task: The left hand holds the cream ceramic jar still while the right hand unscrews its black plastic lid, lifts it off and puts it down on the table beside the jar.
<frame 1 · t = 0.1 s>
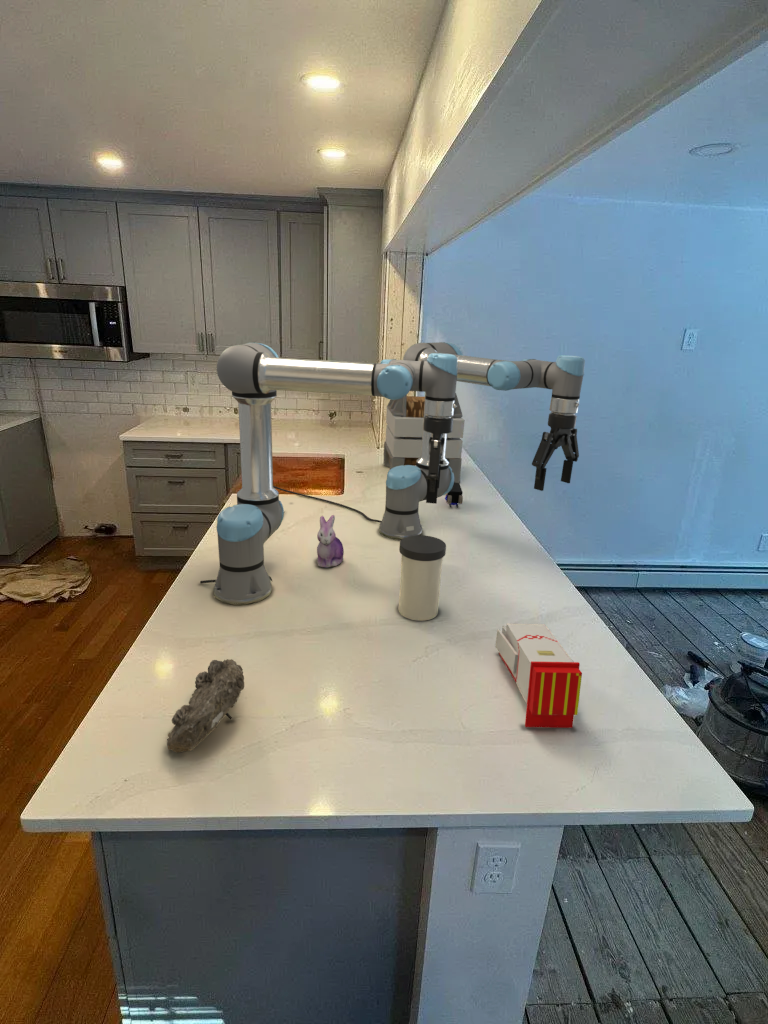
left hand: (432, 495, 153), 28 cm above the counter, tool pointing down, fingers open, 13 cm apart
right hand: (552, 485, 166), 28 cm above the counter, tool pointing down, fingers open, 13 cm apart
feather: (283, 515, 213), on the counter
figurine character: (452, 503, 233), on the counter
fossil: (212, 717, 108), on the counter
lid: (422, 545, 143), point 19 cm above the counter, screwed on, not yet turned
toy: (529, 684, 122), on the counter
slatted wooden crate: (419, 473, 275), on the counter
figurine: (329, 562, 175), on the counter
jar: (418, 610, 150), on the counter
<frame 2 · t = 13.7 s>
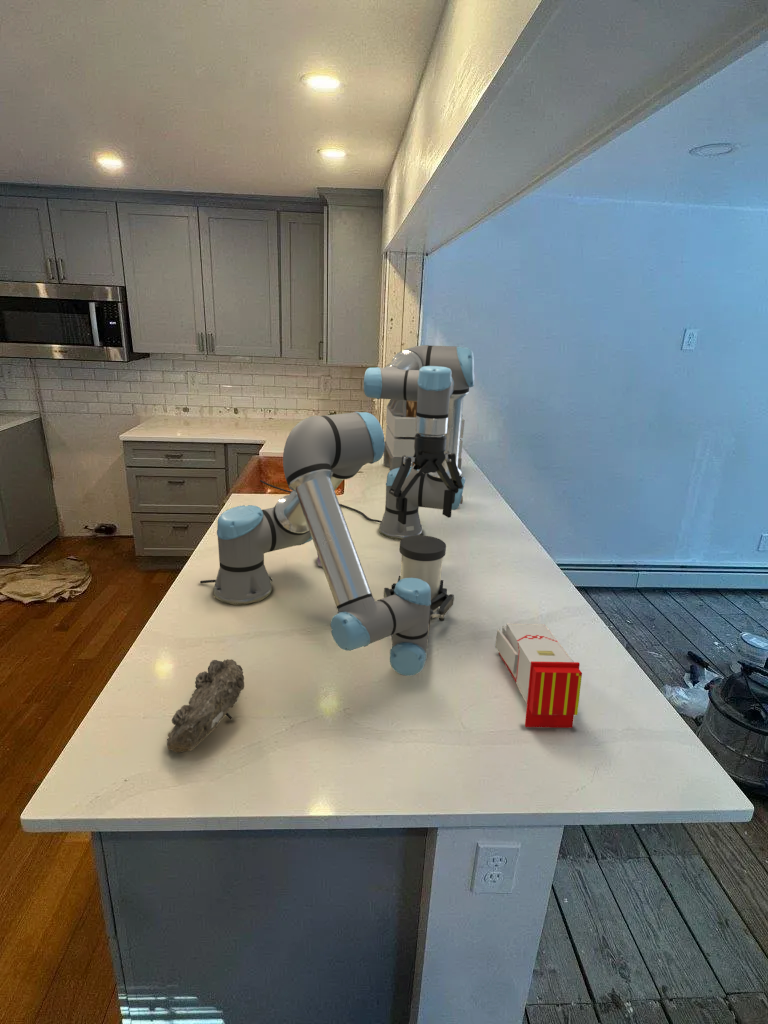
left hand: (420, 582, 151), 6 cm above the counter, tool horizontal, fingers closed on jar, 10 cm apart
right hand: (424, 519, 141), 26 cm above the counter, tool pointing down, fingers open, 12 cm apart
jar: (418, 610, 150), on the counter, touching left hand
everything else where it was.
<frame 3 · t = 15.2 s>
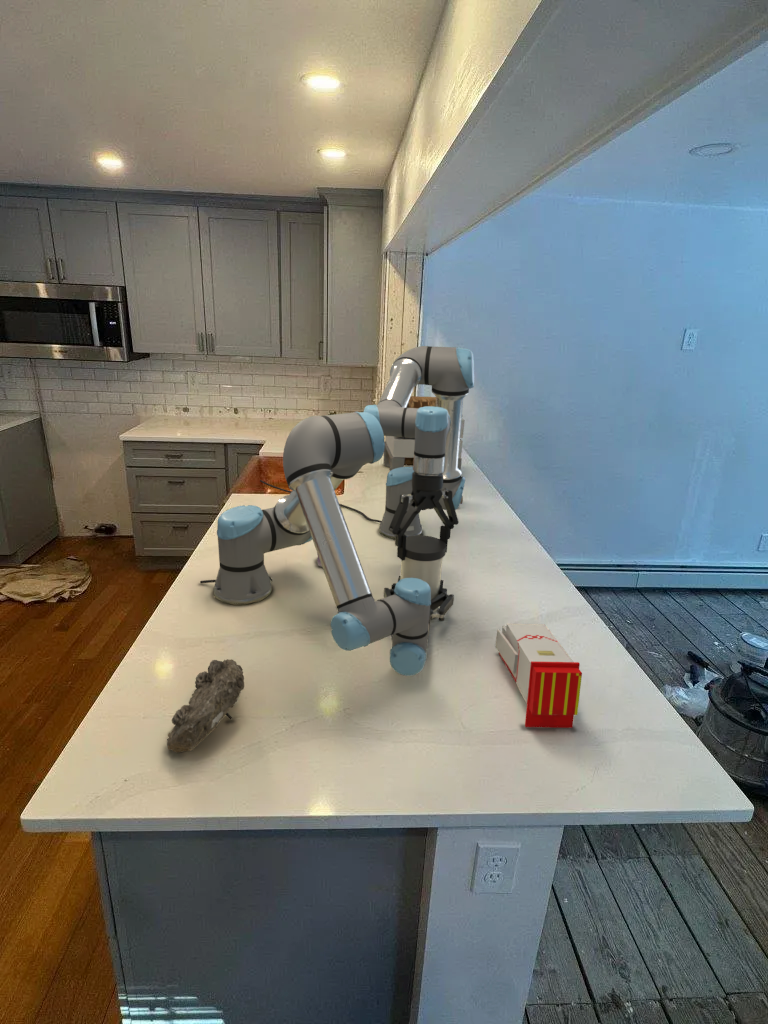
left hand: (420, 582, 151), 6 cm above the counter, tool horizontal, fingers closed on jar, 10 cm apart
right hand: (422, 554, 144), 16 cm above the counter, tool pointing down, fingers closed on lid, 12 cm apart
lid: (422, 545, 143), point 19 cm above the counter, screwed on, not yet turned, touching right hand
jar: (418, 610, 150), on the counter, touching left hand
everything else where it was.
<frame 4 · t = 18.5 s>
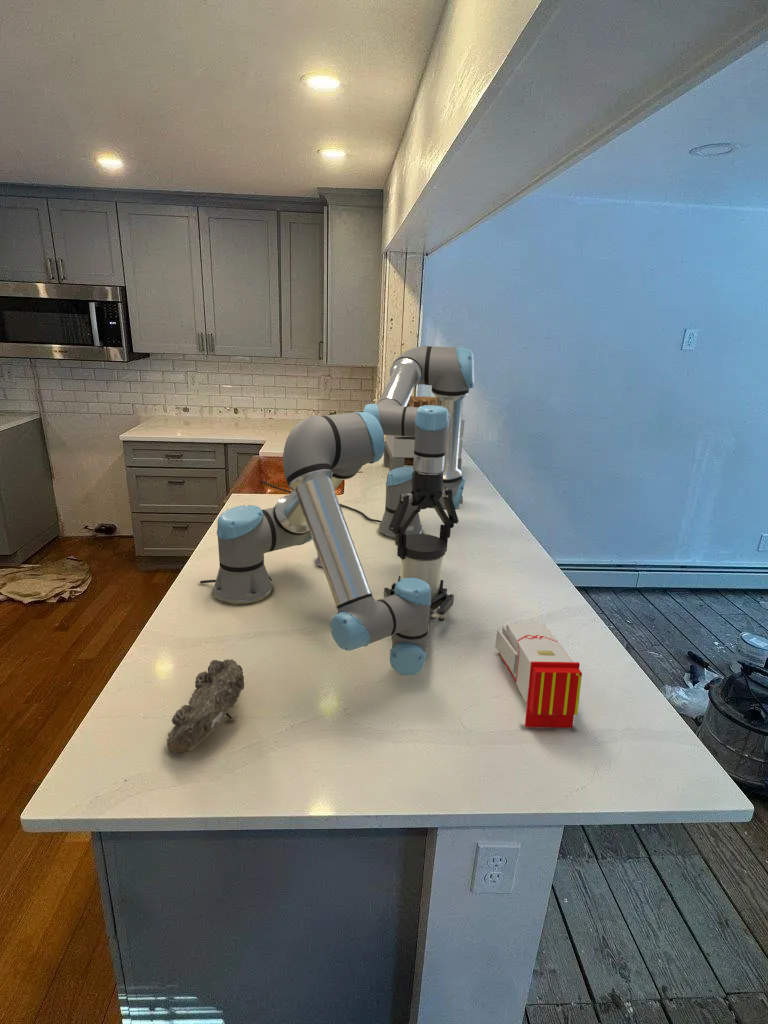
left hand: (420, 582, 151), 6 cm above the counter, tool horizontal, fingers closed on jar, 10 cm apart
right hand: (422, 553, 144), 16 cm above the counter, tool pointing down, fingers closed on lid, 12 cm apart
lid: (422, 543, 143), point 19 cm above the counter, turned 106° so far, risen 0.4 cm, still on its thread, touching right hand
jar: (418, 610, 150), on the counter, touching left hand
everything else where it was.
when the right hand's fingers open (0 cm above the counter, at t = 26.2 s): lid drops 1 cm, point 2 cm above the counter.
when the left hand's fingers open (6 cm above the counter, at t = 27.2 s): jar stays where it is, on the counter.
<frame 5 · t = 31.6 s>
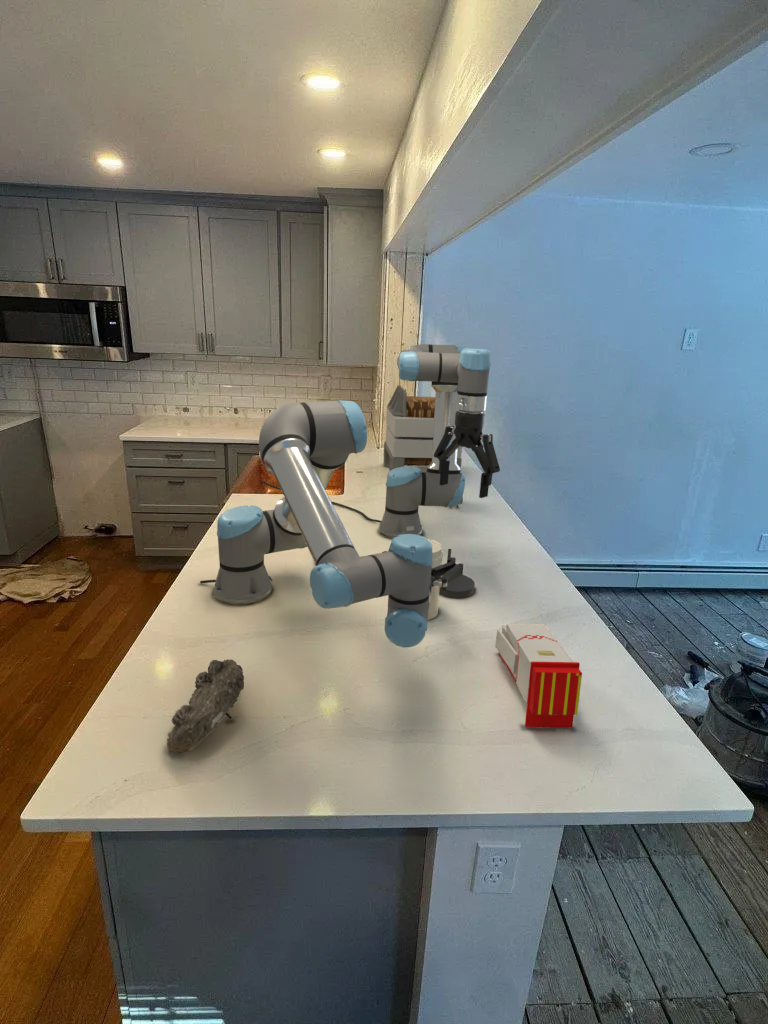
left hand: (420, 551, 134), 21 cm above the counter, tool horizontal, fingers open, 13 cm apart
right hand: (462, 490, 152), 29 cm above the counter, tool pointing down, fingers open, 13 cm apart
lid: (454, 582, 162), point 2 cm above the counter, off its thread
jar: (418, 610, 150), on the counter
everything else where it was.
at the end: lid came off its thread; lid point 1.8 cm above the counter; the left hand is holding nothing; the right hand is holding nothing; jar tilted 0°; jar moved 0.0 cm from its start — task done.
